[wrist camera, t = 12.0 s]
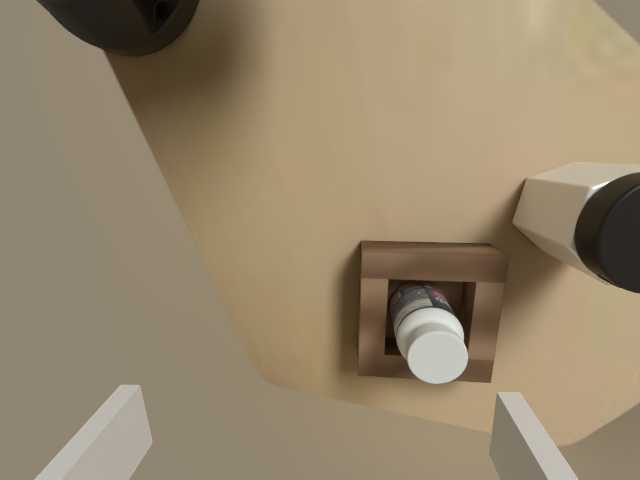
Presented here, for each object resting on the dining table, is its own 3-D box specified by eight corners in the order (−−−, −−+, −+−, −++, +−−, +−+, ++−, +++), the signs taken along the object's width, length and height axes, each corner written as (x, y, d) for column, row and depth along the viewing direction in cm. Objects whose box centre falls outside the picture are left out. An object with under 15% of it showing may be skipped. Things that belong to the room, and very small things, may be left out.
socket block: (361, 240, 37) (362, 252, 32) (489, 243, 35) (508, 256, 31) (357, 350, 40) (358, 375, 35) (474, 356, 39) (490, 382, 34)
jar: (520, 259, 36) (601, 312, 24) (501, 183, 34) (580, 200, 22) (614, 232, 34) (749, 274, 23) (599, 151, 32) (738, 152, 21)
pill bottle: (454, 312, 36) (490, 370, 27) (406, 337, 38) (424, 401, 28) (426, 268, 36) (453, 312, 26) (378, 296, 37) (387, 348, 27)
